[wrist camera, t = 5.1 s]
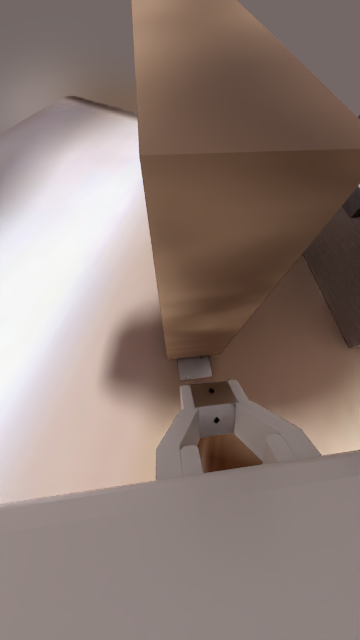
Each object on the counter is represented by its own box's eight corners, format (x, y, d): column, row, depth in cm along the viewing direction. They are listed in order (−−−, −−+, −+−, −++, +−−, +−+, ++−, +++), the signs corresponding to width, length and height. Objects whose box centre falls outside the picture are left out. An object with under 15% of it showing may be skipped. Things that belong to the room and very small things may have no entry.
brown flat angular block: (167, 359, 14) (139, 155, 3) (156, 233, 20) (130, -16, 8) (219, 353, 15) (389, 147, 3) (194, 231, 20) (223, -13, 8)
